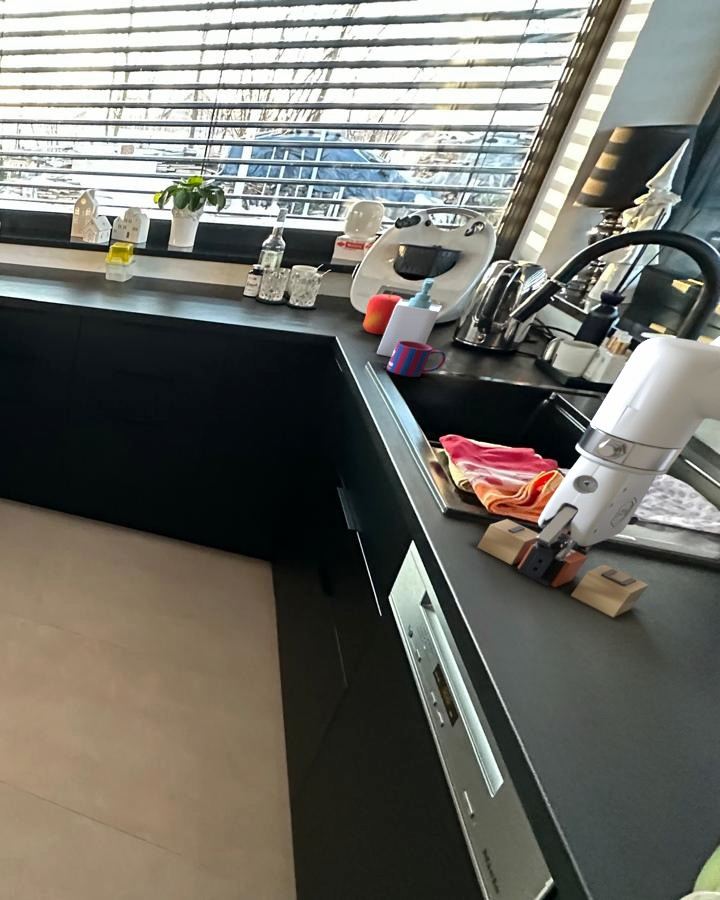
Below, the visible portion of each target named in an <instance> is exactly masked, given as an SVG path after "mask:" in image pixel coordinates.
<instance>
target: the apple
mask: <svg viewBox="0 0 720 900" xmlns="http://www.w3.org/2000/svg"><path fill="white" fill-rule="evenodd" d="M393 293H394V291H391V293H390V294H384V293H380V294H375V295H373V296H371V298H370V299H369V300H368V303H367V306H366V312H365V317H364V320H363V323H362V326H363V328H364V329H365V331H366V332H367V333H370V334H375V335H379V336H384V333H385V331H386V329H387V326H388V324H389V321H390V319H391V316H392V314H393V311H394V309H395V306H396V304H397V303H398V302H399V301H400V300H401V299H404V298H403V297H401V296H399V295H394V294H393Z"/></svg>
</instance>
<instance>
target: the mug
mask: <svg viewBox="0 0 720 900" xmlns="http://www.w3.org/2000/svg"><path fill="white" fill-rule="evenodd" d="M438 353H439V354H441V360H440V362H439V363H438V364H437V365H436V366H433V367H431V368H425V367H426V364H427V362H428V360H429V358H430V356H431V355H433V354H438ZM446 357H447V356H446V353H445V352H444V351H442V350H438V349H433V347H432V346H430V345H428V344H426V343H425V344H422V343H417V342H412V341H398V342H397V345H396V347H395V349H394V352H393V354H392V357H390V359H389V361H388V364H387V366H386V370H387V371H388V372H390V373H393V374H396V375H399V376H404V377H409V378H418V377H419V378H420V377H421V375H422V374H423V373H427V372H433V371H436V370H438V369H440V368H441V367H442V366H443V365H444V363H445V362H446Z"/></svg>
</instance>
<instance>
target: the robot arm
mask: <svg viewBox="0 0 720 900" xmlns="http://www.w3.org/2000/svg"><path fill="white" fill-rule="evenodd" d="M616 378H617V379H616V380H615V381H614V383H613V385H612V386H611V388H610V390H609V391H608V393H607V395H606V397H605V398H604V400H603V401H602V403H601V405H600V406H599V408H598V410H597V412H596V413H595V415H594V416H593V418H592V420H590V422H589V424H588V425H587V427H586V429H585V431H584V432H583V434H582V435H581V437H580V439H579V440H578V442H577V443H576V445H575V450H576V451H577V452H578V453H579V454H580V456H579V458H578V459H577V460H576V462H575V463H574V464H573V466H572V467H571V468H570V469H569V471H568V472H567V474H566V475H565V477H564V478H563V479H562V481H561V483H560V484H559V485H558V487H557V488H556V490H555V491H554V493H553V495H551V497H550V499H549V500H548V501H547V503H546V505H545V506H544V509H543V510H542V512H541V513H540V516H539V518H538V520H537V524H538V527H540V528H541V529H542V531H540V533H538V534H539V535H538V536H537V538H536V540H537V541H536V543H535V544H534V546H533V548H532V549H531V551H530V552H529V554H528V556H527V557H526V559H525V560H524V562H523V564H522V565H521V567H520V568H519V569H518V572H519V573H522V574H523V575H525V576H527V577H529V578H531V579H532V580H535V581H537V582H539V583H541V584H542V585H545V586H547V587H549V586H552V585H551V584H552V582H553V581H554V579H555V578H556V576H557V575H558V573H559V572H560V570H561V569H562V567H563V566H564V564H565V563H566V560H564V558H565V556H566V555H567V554H568V552H569V551H570V550H571V549H573V550H575V551H577V552H579V553H581V554H584V555H586V556H587V554H588V552H587V551H589V550H590V549H591V548H592V547H593V545H596V544H597V543H601V542H604V541H606V540H608V539H611V538H613V537H615V536H618V535H619V534H621V533H622V532H623V531H624V530H625V529H626V527H627V526H628V524H629V523H630V521H631V520H632V518H633V516H634V514H635V513H636V511H637V510H638V508H639V506H640V505H641V504H642V502H643V500H644V499H645V498H646V495H647V494H648V492H649V490H650V488H651V487H652V485H653V483H654V482H655V479H656V478H657V476H663V475H666V474H667V473H668V472H669V470H670V469H671V467H672V465H673V464H674V463H675V461H676V460H677V459H678V457H679V455H680V454H681V453H682V452H683V450H684V448H685V447H686V446H687V444H688V442H690V440H691V439H692V437H693V436H694V434H695V433H696V432H697V430H698V429H699V428H700V426H701V424H702V423H703V422H704V420H708V419H709V420H714V421H718V422H720V336H718V337H717V338H715V339H714V340H713V341H711V342H710V343H707V342H705V341H698V340H693V339H688V338H687V339H686V338H680V337H669V336H667V337H666V336H660V337H659V336H658V337H653V338H649V339H647V340H644V341H642V342H641V343H640V344H638V345H637V346H636V348H635V349H634V351H633V352H632V353H631V354H630V357H629V358H628V360H627V362H626V363H625V364H624V367H623V368H622V370H621V372H620V373H619V375H618V377H616ZM561 544H562V545H563V546H562V547H561Z"/></svg>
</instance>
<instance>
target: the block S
mask: <svg viewBox="0 0 720 900" xmlns="http://www.w3.org/2000/svg"><path fill="white" fill-rule="evenodd" d="M533 546H534V544H533V545H531V547H530V549H529V550H528V552H527V553H526V555H525V557H524V558H523V560H522V561H520V562H519V565H518V566H517V569H518V570H519V568H520V567H521V565H522V564H523V562H524V560H525V559H526V557H527V556H528V554H529V552H530V551H531V549H532V548H533ZM562 546H563V545H562V544H561V547H562ZM588 557H589V556H588V555H587V554H586V555H584V554H581V553H579V552H577V551H575V550H573V549H571V550H570V551H569V552H568V554H567V555H566V556H565V558H564V560H566V563H565V564H564V566H563V567H562V569H561V570H560V572H559V573H558V575H557V576H556V578H555V579H554V581H553V582H552V584H551V585H550V586H551V587H554V588H557V587H559V586H561V585H564V584H566V583H568V582H571V581H573V579H574V577H575V576H576V575H577V573H578V571H580V569H581V568H582V566H583V564H584V563H585V561H586V560H587V559H588Z"/></svg>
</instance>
